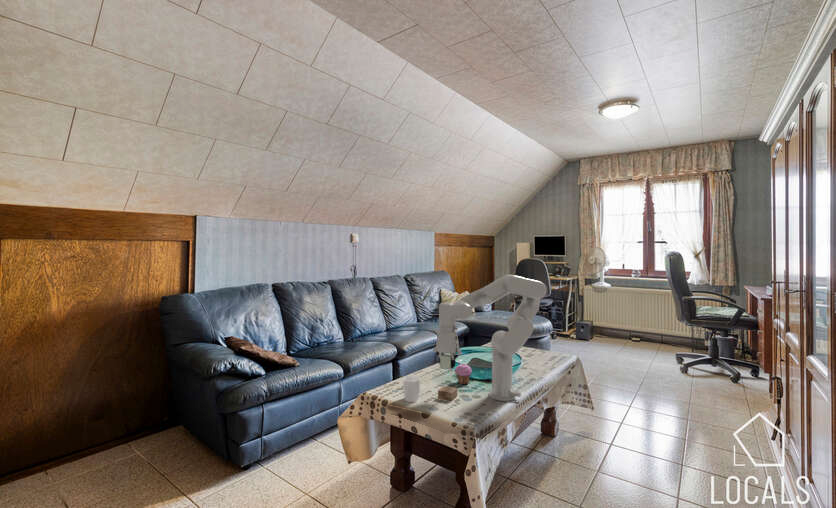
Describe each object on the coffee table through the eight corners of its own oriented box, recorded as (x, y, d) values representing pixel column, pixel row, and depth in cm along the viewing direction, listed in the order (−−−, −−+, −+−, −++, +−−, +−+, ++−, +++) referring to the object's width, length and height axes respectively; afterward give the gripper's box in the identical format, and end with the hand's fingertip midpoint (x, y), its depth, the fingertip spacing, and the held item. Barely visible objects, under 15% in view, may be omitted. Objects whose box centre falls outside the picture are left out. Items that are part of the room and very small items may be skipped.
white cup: (418, 404, 179) (418, 382, 179) (401, 402, 180) (401, 381, 180) (421, 397, 186) (421, 376, 186) (405, 396, 188) (405, 375, 188)
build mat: (469, 397, 187) (469, 396, 187) (461, 406, 177) (461, 405, 176) (435, 391, 195) (435, 390, 195) (425, 399, 185) (425, 398, 185)
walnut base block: (457, 396, 187) (457, 388, 187) (451, 401, 181) (451, 392, 181) (443, 393, 191) (443, 385, 191) (437, 398, 184) (438, 390, 184)
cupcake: (458, 386, 202) (458, 367, 202) (452, 381, 211) (452, 362, 211) (474, 385, 205) (474, 366, 205) (467, 379, 213) (467, 361, 213)
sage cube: (454, 367, 188) (454, 354, 188) (449, 369, 183) (449, 357, 183) (444, 365, 190) (444, 353, 190) (440, 368, 186) (440, 355, 186)
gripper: (466, 329, 186) (467, 367, 186) (434, 325, 194) (434, 362, 194) (460, 332, 179) (461, 371, 179) (427, 328, 187) (427, 366, 188)
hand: (447, 366), depth 187 cm, fingers closed on sage cube, 5 cm apart
